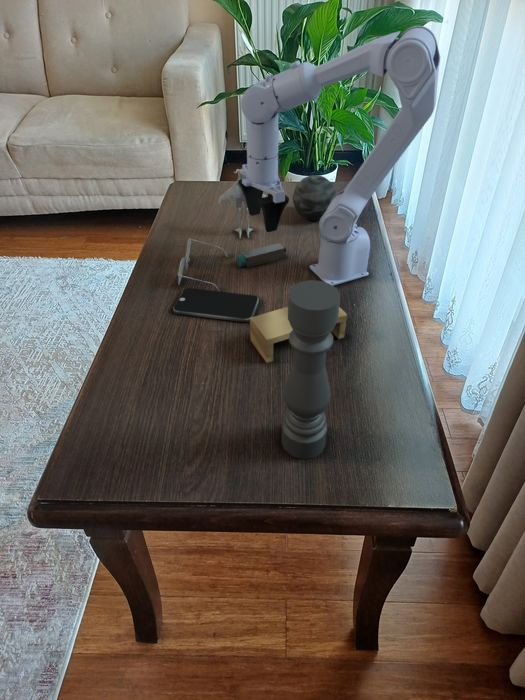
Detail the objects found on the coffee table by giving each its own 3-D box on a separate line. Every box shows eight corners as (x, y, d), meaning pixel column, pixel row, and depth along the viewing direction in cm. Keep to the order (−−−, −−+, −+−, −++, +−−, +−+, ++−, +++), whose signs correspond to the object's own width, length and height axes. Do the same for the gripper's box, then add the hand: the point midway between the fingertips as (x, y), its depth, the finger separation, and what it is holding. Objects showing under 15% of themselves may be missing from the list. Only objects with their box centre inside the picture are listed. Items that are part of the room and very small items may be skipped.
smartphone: (184, 287, 101) (259, 295, 99) (184, 290, 101) (260, 298, 99) (170, 310, 95) (250, 320, 93) (171, 313, 96) (250, 323, 93)
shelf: (325, 317, 95) (327, 294, 92) (344, 337, 90) (347, 314, 87) (250, 340, 90) (249, 317, 87) (266, 363, 86) (266, 339, 82)
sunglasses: (189, 254, 112) (190, 233, 109) (227, 261, 112) (230, 240, 109) (176, 291, 101) (177, 269, 98) (218, 298, 102) (221, 277, 98)
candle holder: (279, 425, 76) (282, 280, 59) (321, 422, 76) (336, 277, 59) (284, 460, 71) (289, 313, 54) (329, 457, 71) (348, 310, 55)
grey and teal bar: (282, 251, 112) (282, 241, 111) (287, 257, 111) (288, 247, 109) (236, 263, 109) (236, 253, 107) (241, 269, 107) (240, 259, 106)
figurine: (268, 229, 120) (268, 164, 110) (269, 237, 117) (269, 172, 107) (219, 230, 120) (215, 166, 110) (219, 239, 117) (214, 173, 107)
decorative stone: (331, 207, 128) (335, 167, 121) (336, 227, 120) (340, 185, 114) (290, 208, 128) (292, 168, 121) (293, 227, 120) (294, 186, 114)
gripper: (226, 144, 99) (230, 211, 108) (260, 172, 89) (260, 242, 98) (260, 138, 101) (260, 204, 110) (296, 165, 91) (293, 234, 100)
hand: (262, 222), depth 104 cm, fingers open, 7 cm apart
